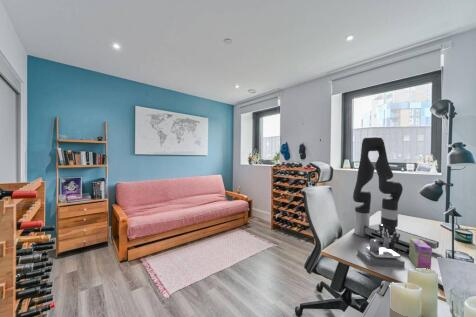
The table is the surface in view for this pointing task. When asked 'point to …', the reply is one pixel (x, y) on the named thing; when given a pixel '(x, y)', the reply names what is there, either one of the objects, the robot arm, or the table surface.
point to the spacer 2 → (386, 242)
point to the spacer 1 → (374, 245)
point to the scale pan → (384, 253)
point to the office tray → (403, 240)
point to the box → (420, 253)
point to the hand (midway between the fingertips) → (388, 246)
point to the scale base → (379, 259)
